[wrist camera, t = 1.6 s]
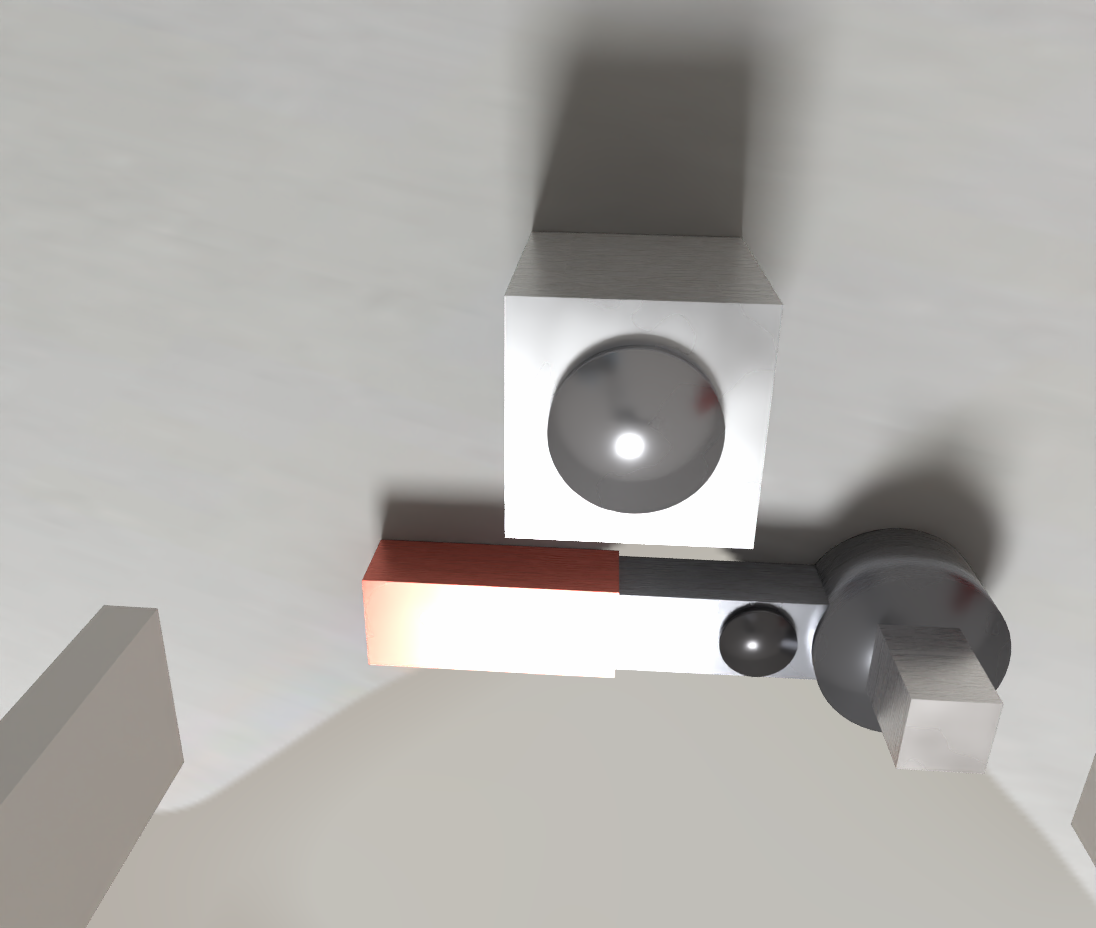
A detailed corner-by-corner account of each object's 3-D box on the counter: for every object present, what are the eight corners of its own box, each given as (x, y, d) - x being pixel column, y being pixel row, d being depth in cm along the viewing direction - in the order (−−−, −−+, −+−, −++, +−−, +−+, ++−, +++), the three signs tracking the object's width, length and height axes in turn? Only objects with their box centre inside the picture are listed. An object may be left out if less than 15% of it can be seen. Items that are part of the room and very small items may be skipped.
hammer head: (531, 231, 27) (502, 300, 20) (741, 237, 27) (785, 309, 20) (529, 424, 30) (503, 545, 23) (722, 432, 29) (755, 557, 22)
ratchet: (378, 505, 31) (323, 615, 25) (993, 532, 30) (1085, 655, 24) (388, 649, 33) (340, 781, 28) (957, 680, 32) (1033, 823, 27)
